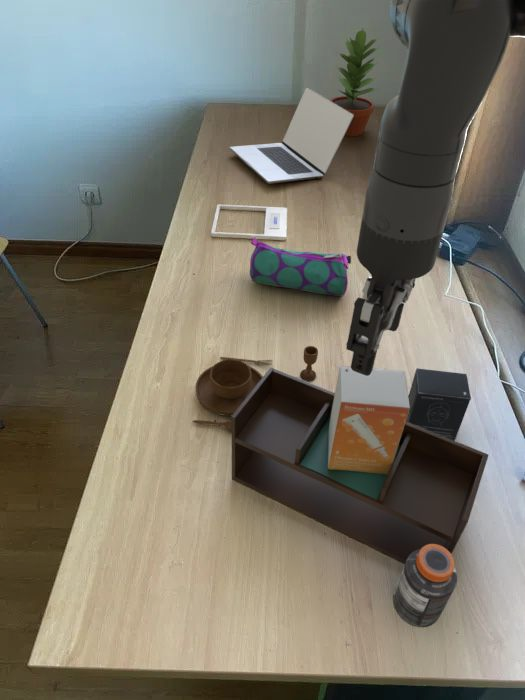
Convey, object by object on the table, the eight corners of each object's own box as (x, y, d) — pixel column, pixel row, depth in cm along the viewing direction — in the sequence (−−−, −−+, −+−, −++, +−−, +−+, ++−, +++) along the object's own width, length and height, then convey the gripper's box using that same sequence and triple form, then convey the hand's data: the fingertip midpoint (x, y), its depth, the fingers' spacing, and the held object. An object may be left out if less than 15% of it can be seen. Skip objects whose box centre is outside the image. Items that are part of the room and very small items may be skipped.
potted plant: (331, 139, 183) (343, 36, 163) (323, 122, 194) (333, 24, 174) (376, 139, 184) (393, 37, 164) (365, 122, 195) (380, 25, 175)
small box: (327, 470, 73) (339, 401, 64) (327, 432, 77) (338, 363, 69) (390, 476, 72) (411, 407, 64) (386, 438, 77) (405, 369, 68)
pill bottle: (435, 582, 73) (458, 536, 65) (444, 630, 68) (470, 586, 61) (389, 580, 73) (406, 533, 65) (395, 627, 68) (415, 583, 61)
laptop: (229, 150, 170) (233, 88, 159) (298, 144, 180) (306, 86, 169) (267, 185, 153) (275, 119, 142) (341, 176, 163) (354, 114, 152)
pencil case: (347, 281, 123) (354, 243, 116) (344, 305, 116) (350, 266, 110) (254, 268, 125) (255, 230, 119) (245, 291, 119) (246, 251, 113)
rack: (459, 515, 80) (488, 454, 71) (438, 580, 73) (467, 522, 63) (267, 430, 91) (270, 367, 81) (231, 479, 83) (231, 416, 74)
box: (450, 418, 94) (467, 373, 87) (453, 445, 90) (472, 399, 83) (402, 412, 94) (416, 366, 87) (403, 438, 90) (418, 392, 83)
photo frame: (286, 236, 134) (211, 232, 134) (286, 240, 135) (211, 236, 135) (287, 207, 145) (217, 203, 145) (286, 211, 146) (217, 207, 146)
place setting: (209, 354, 104) (208, 329, 100) (317, 368, 102) (320, 344, 98) (184, 425, 91) (181, 400, 87) (307, 443, 89) (310, 418, 85)
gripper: (420, 265, 46) (385, 401, 56) (463, 196, 55) (426, 324, 66) (335, 239, 48) (317, 375, 59) (390, 178, 58) (366, 304, 68)
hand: (375, 348), depth 62 cm, fingers open, 8 cm apart
